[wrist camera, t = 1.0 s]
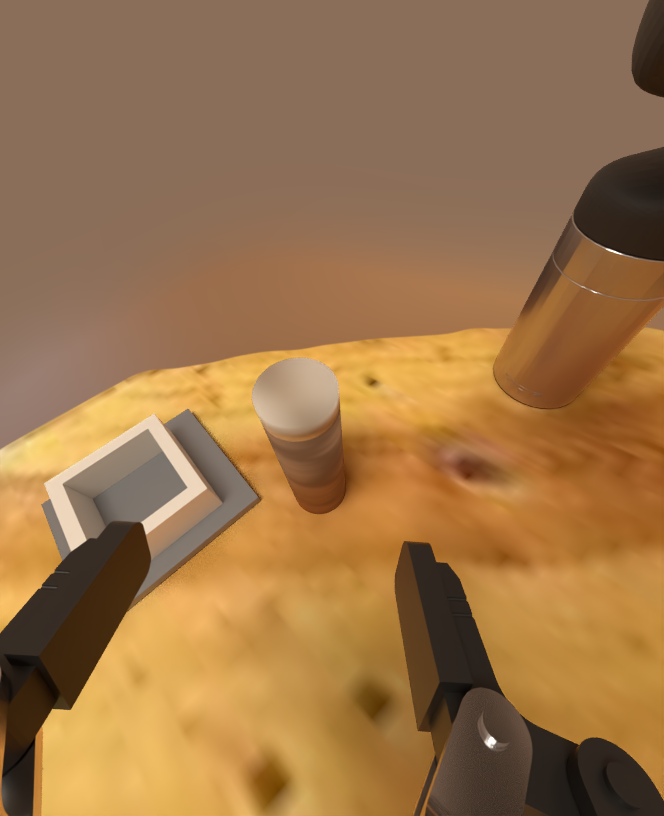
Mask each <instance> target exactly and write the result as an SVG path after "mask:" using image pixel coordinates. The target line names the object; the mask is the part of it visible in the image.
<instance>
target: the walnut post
mask: <svg viewBox="0 0 664 816" xmlns="http://www.w3.org/2000/svg"><path fill="white" fill-rule="evenodd" d="M252 401H253V405H254V408H255V410H256V412H257V414H258V416H259V419H260V421H261V423H262V425H263V427H264V430H265V432H266V434H267V436H268V438H269V441H270V443H271V445H272V447H273V449H274V451H275V454H276V456H277V458H278V460H279V462H280V465H281V467H282V469H283V471H284V473H285V476H286V478H287V480H288V482H289V484H290V487H291V489H292V491H293V493H294V495H295V497H296V500H297V502H298V503H299V505H300V506H301V507H302V508H303V509H305V510H306V511H308V512H310V513H314V514H324V513H328V512H330V511H332V510H334V509H335V508H336V507H337V506H338V505H339V504H340V503H341V502H342V500H343V498H344V495H345V473H344V459H343V444H342V429H341V415H340V400H339V386H338V381H337V378H336V376H335V374H334V373H333V372H332V370H331V369H330V368H329V367H327V366H326V365H325V364H323V363H321V362H319V361H317V360H313V359H309V358H290V359H286V360H283V361H280V362H277V363H275V364H273V365H272V366H270V367H269V368H267V369H266V370H265V371H264V372H263V373H262V374H261V375H260V376H259V378H258V379H257V381H256V383H255V385H254V387H253V392H252Z"/></svg>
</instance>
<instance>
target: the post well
mask: <svg viewBox="0 0 664 816" xmlns="http://www.w3.org/2000/svg"><path fill="white" fill-rule="evenodd" d="M44 484H45V487H46V489H47V492H48V494H49V497H50V499H49V500H48V501H46V502H44V503H43V504H41V505H42V507H43V510H44V513H45V515H46V518H47V521H48V523H49V526H50V529H51V531H52V534H53V537H54V539H55V542H56V544H57V547H58V550H59V552H60V555H61V558H62V560H64V559H65V558H66V556H67V555H68V554H69V553H70V552H71V551H73V550H74V549H75V548H77V547H78V546H80V545H81V544H82V543H84V542H85V541H86V540H88V539H89V538H98V536H99V535H100V534H101V533H102V532H103V530H104V529H105V528H106V527H107V525H108V524H109V523H111V522H112V521H130V522H141V523H142V524H143V526H144V530H145V534H146V538H147V542H148V546H149V550H150V554H151V564H150V569H149V572H148V574H147V577H146V579H145V580H144V582H143V584H142V586H141V587H140V589H139V591H138V593H137V594H136V596H135V598H134V600H133V601H132V603H131V605H130V607H129V608H128V610H129V609H131V608H132V607H133V606H134V605H135V604H137V603H138V602H139V601H140V600H141V599H143V598H144V597H145V596H146V595H147V594H149V593H150V592H151V591H152V590H153V589H155V588H156V587H157V586H158V585H159V584H161V583H162V582H163V581H164V580H166V579H167V578H168V577H169V576H170V575H172V574H173V573H174V572H175V571H176V570H178V569H179V568H180V567H181V566H182V565H184V564H185V563H186V562H187V561H188V560H190V559H191V558H192V557H193V556H194V555H196V554H197V553H198V552H199V551H201V550H202V549H203V548H204V547H205V546H207V545H208V544H209V543H210V542H211V541H213V540H214V539H215V538H216V537H217V536H219V535H220V534H221V533H222V532H223V531H225V530H226V529H227V528H228V527H229V526H231V525H232V524H233V523H234V522H236V521H237V520H238V519H239V518H240V517H242V516H243V515H244V514H245V513H246V512H248V511H249V510H250V509H251V508H252V507H254V506H255V505H256V504H257V503H258V502H260V501H261V500H260V499H259V497H258V496H257V495H256V494H255V492H254V491H253V490H252V489H251V487H250V486H249V485H248V483H247V482H246V481H245V480H244V478H243V477H242V476H241V475H240V473H239V472H238V471H237V470H236V468H235V467H234V466H233V465H232V463H231V462H230V461H229V460H228V458H227V457H226V456H225V454H224V453H223V452H222V451H221V449H220V448H219V447H218V446H217V444H216V443H215V442H214V441H213V439H212V438H211V437H210V436H209V434H208V433H207V432H206V431H205V429H204V428H203V427H202V425H201V424H200V423H199V422H198V420H197V419H196V418H195V417H194V415H193V414H192V413H191V412H190V410H189V409H187V410H185V411H184V412H182V413H181V414H179V415H178V416H176V417H175V418H173V419H171V420H170V421H168V422H167V423H165V424H163V422H162V421H161V420H160V419H159V418H158V417H157V416H156V415H155V414H153V415H151V416H150V417H148V418H146V419H145V420H143V421H142V422H140V423H138V424H137V425H135V426H134V427H132V428H131V429H129V430H127V431H126V432H124V433H123V434H121V435H120V436H118V437H116V438H115V439H113V440H112V441H110V442H109V443H107V444H105V445H104V446H102V447H101V448H99V449H97V450H96V451H94V452H93V453H91V454H90V455H88V456H86V457H85V458H83V459H82V460H80V461H79V462H77V463H75V464H74V465H72V466H71V467H69V468H68V469H66V470H64V471H63V472H61V473H60V474H58V475H57V476H55V477H53V478H52V479H50V480H49V481H47V482H45V483H44ZM128 610H127V611H128Z"/></svg>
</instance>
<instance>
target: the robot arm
mask: <svg viewBox="0 0 664 816" xmlns="http://www.w3.org/2000/svg"><path fill="white" fill-rule="evenodd" d="M632 74H633V77H634V81H635V83H636V84H637V85H638V86H639V87H640V88H641V89H642V90H644V91H646V92H648V93H650V94H653V95H656V96H660V97H664V0H649V2H648V4H647V7H646V9H645V12H644V15H643V18H642V20H641V23H640V26H639V29H638V32H637V36H636V40H635V44H634V48H633V53H632ZM663 307H664V147H662V148H658V149H654V150H650V151H646V152H642V153H638V154H634V155H630V156H627V157H623V158H620V159H618V160H616V161H613V162H611V163H610V164H608V165H606V166H604V167H603V168H602V169H601V170H599V171H598V172H597V173H596V174H595V175H594V177H593V178H592V179H591V180H590V182H589V183H588V185H587V187H586V189H585V190H584V192H583V194H582V196H581V198H580V200H579V202H578V204H577V205H576V207H575V209H574V211H573V213H572V215H571V217H570V219H569V221H568V223H567V225H566V227H565V229H564V230H563V232H562V234H561V236H560V238H559V240H558V242H557V244H556V246H555V248H554V250H553V252H552V254H551V256H550V258H549V259H548V261H547V263H546V265H545V267H544V269H543V271H542V273H541V275H540V276H539V278H538V280H537V282H536V284H535V286H534V288H533V290H532V292H531V294H530V296H529V297H528V300H527V301H526V303H525V305H524V307H523V309H522V311H521V313H520V315H519V317H518V318H517V321H516V322H515V324H514V326H513V328H512V330H511V332H510V334H509V335H508V337H507V339H506V341H505V343H504V345H503V347H502V349H501V351H500V353H499V355H498V356H497V358H496V360H495V363H494V367H493V369H494V375H495V378H496V381H497V382H498V384H499V385H500V387H501V388H502V389H503V390H504V391H505V392H506V393H507V394H509V395H510V396H511V397H513V398H514V399H516V400H518V401H520V402H522V403H524V404H527V405H530V406H533V407H538V408H558V407H562V406H565V405H567V404H569V403H570V402H572V401H573V400H574V399H575V398H576V397H577V396H578V395H579V394H580V393H581V392H582V391H583V390H584V389H585V388H586V387H587V386H588V385H589V384H590V383H591V382H592V381H593V379H595V378H596V377H597V376H598V375H599V374H600V372H601V371H602V370H603V369H604V368H605V367H606V366H607V365H608V364H609V363H610V362H611V361H612V360H613V359H614V358H615V357H616V356H617V355H618V354H619V353H620V352H621V351H622V350H623V349H624V347H625V346H626V345H627V344H628V343H629V342H630V341H631V340H632V339H633V338H634V337H635V336H636V335H637V334H638V333H639V332H640V331H641V330H642V329H643V328H644V327H645V325H647V323H648V322H649V321H650V320H651V319H652V318H653V317H654V316H655V315H656V314H657V313H658V312H659V311H660V310H661V309H662V308H663ZM150 564H151V554H150V550H149V546H148V542H147V538H146V534H145V530H144V526H143V524H142V523H141V522H130V521H112V522H111V523H109V524H108V525H107V527H106V528H105V529H104V530H103V532H102V533H101V534H100V535H99V536H98V538H89V539H88V540H86V541H85V542H84V543H82V544H81V545H80V546H78V547H77V548H75V549H74V550H73V551H71V552H70V553H69V554H68V555H67V556H66V558H65V559H64V560H63V561H62V562H61V563H60V565H59V566H58V567H57V568H56V569H55V572H54V573H53V574H51V575H50V576H49V577H48V578H47V580H46V581H45V582H44V583H43V584H42V587H41V589H38V590H37V591H36V592H35V594H34V595H33V596H32V597H31V598H30V599H29V601H28V602H27V603H26V604H25V605H24V606H23V608H22V609H21V610H20V611H19V612H18V613H17V614H16V616H15V617H14V618H13V619H12V620H11V621H10V623H9V624H8V625H7V626H6V627H5V628H4V630H3V631H2V632H1V633H0V816H41V804H42V753H43V729H42V725H43V723H44V722H45V720H46V718H47V717H48V715H49V713H50V712H51V710H52V709H64V710H71V708H72V707H73V705H74V703H75V701H76V700H77V698H78V696H79V694H80V693H81V691H82V689H83V687H84V686H85V684H86V682H87V680H88V679H89V677H90V675H91V673H92V672H93V670H94V668H95V666H96V665H97V663H98V661H99V659H100V658H101V656H102V654H103V652H104V651H105V649H106V647H107V645H108V643H109V642H110V640H111V638H112V636H113V635H114V633H115V631H116V629H117V628H118V626H119V624H120V622H121V621H122V619H123V617H124V615H125V614H126V612H127V610H128V608H129V607H130V605H131V603H132V601H133V600H134V598H135V596H136V594H137V593H138V591H139V589H140V587H141V586H142V584H143V582H144V580H145V579H146V577H147V574H148V572H149V569H150ZM395 595H396V601H397V607H398V613H399V619H400V626H401V632H402V638H403V644H404V650H405V656H406V662H407V668H408V674H409V680H410V686H411V692H412V698H413V704H414V710H415V717H416V723H417V729H418V731H424V732H431V734H432V740H433V745H434V750H435V753H434V755H433V758H432V761H431V764H430V766H429V769H428V772H427V775H426V777H425V780H424V783H423V786H422V788H421V791H420V794H419V797H418V799H417V802H416V805H415V808H414V810H413V813H412V816H664V801H663V799H662V797H661V795H660V793H659V792H658V790H657V788H656V787H655V785H654V783H653V782H652V780H651V779H650V778H649V776H648V775H647V774H646V772H645V771H644V770H643V769H642V768H641V766H640V765H639V764H638V763H637V762H636V761H635V760H634V759H633V758H632V757H631V756H630V755H628V754H627V753H626V752H625V751H624V750H622V749H621V748H619V747H618V746H616V745H615V744H613V743H611V742H609V741H607V740H604V739H601V738H588V739H586V740H584V741H583V742H582V743H581V744H580V745H578V744H575V743H573V742H571V741H569V740H567V739H564V738H562V737H560V736H558V735H556V734H553V733H551V732H549V731H547V730H544V729H542V728H540V727H538V726H536V725H534V724H533V723H531V722H530V721H528V720H527V719H525V718H524V717H523V716H522V715H521V714H519V712H518V711H517V710H516V709H515V707H514V706H513V705H512V704H511V703H510V702H509V701H508V700H507V699H506V697H505V696H504V694H503V693H502V691H501V689H500V687H499V685H498V683H497V681H496V678H495V675H494V672H493V670H492V667H491V664H490V661H489V659H488V656H487V653H486V650H485V648H484V645H483V642H482V639H481V637H480V634H479V631H478V628H477V626H476V623H475V620H474V618H473V617H472V612H471V609H470V606H469V604H468V602H467V601H466V595H465V593H464V590H463V587H462V584H461V581H460V579H459V578H458V576H457V575H456V574H455V573H454V571H453V570H452V569H451V567H450V566H449V565H448V564H447V563H439V562H436V560H435V557H434V554H433V551H432V548H431V545H430V544H429V543H423V542H408V541H404V543H403V545H402V549H401V553H400V557H399V561H398V565H397V569H396V573H395Z"/></svg>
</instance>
